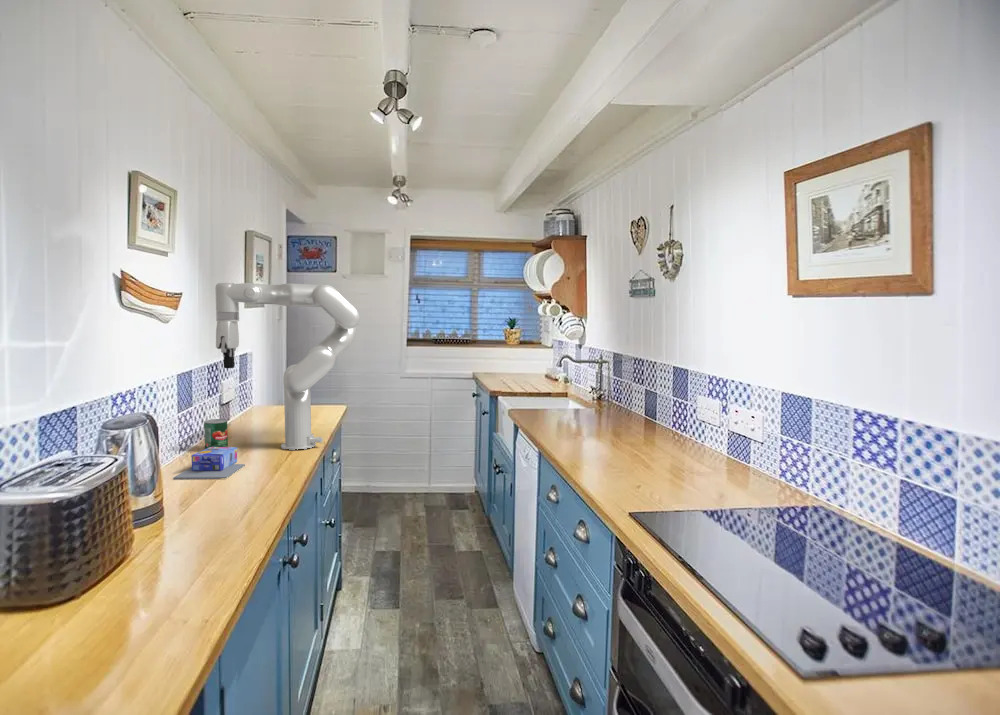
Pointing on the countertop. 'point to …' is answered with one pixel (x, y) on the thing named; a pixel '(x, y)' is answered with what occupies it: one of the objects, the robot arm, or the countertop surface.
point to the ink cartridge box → (214, 459)
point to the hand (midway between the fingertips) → (229, 367)
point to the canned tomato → (216, 433)
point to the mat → (209, 473)
